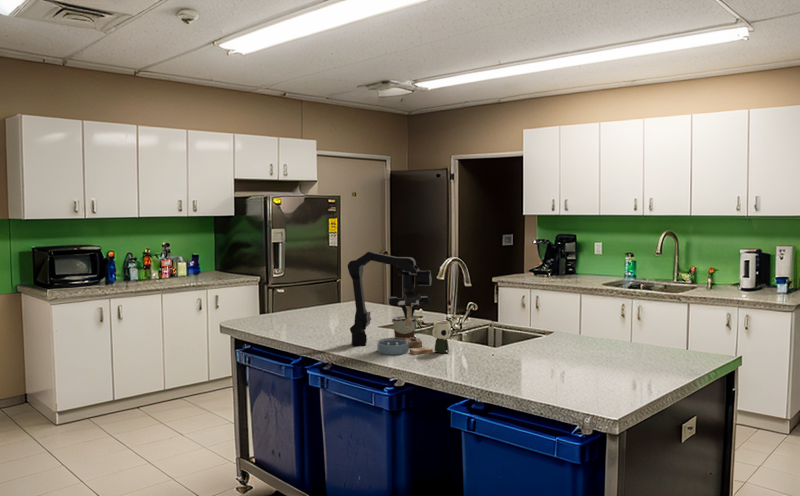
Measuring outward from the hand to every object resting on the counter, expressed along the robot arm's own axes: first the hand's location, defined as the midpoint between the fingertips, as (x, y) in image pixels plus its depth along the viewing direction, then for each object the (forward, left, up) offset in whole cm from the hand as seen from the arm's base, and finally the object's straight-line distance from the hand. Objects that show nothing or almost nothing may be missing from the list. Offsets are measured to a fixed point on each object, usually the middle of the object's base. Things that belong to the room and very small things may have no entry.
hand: (408, 319), depth 278 cm
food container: (+2, +22, -13) cm, 26 cm away
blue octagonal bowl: (-8, -9, -13) cm, 18 cm away
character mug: (+13, -14, -13) cm, 23 cm away
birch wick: (0, 0, -4) cm, 4 cm away
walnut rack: (+3, +2, -13) cm, 13 cm away
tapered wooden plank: (+4, -13, -13) cm, 19 cm away
